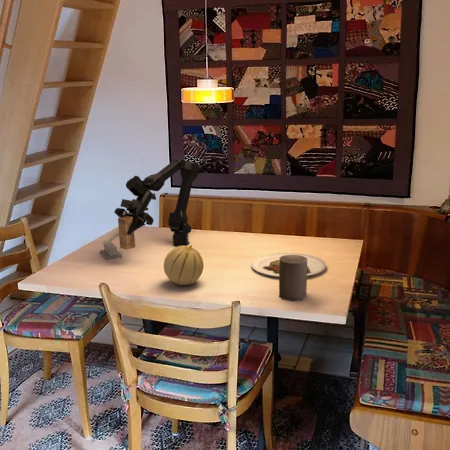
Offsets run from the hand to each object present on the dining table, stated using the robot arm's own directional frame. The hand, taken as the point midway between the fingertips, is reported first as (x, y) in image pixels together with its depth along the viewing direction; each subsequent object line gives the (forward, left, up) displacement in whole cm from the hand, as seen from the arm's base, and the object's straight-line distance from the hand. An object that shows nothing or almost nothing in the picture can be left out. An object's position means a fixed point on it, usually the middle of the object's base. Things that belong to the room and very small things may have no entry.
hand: (124, 233), depth 224 cm
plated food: (-68, -5, -14) cm, 69 cm away
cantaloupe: (-31, +19, -14) cm, 38 cm away
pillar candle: (-72, +25, -14) cm, 77 cm away
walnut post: (-1, -1, -7) cm, 7 cm away
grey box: (+12, -11, -13) cm, 21 cm away
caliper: (+20, -37, -14) cm, 44 cm away
